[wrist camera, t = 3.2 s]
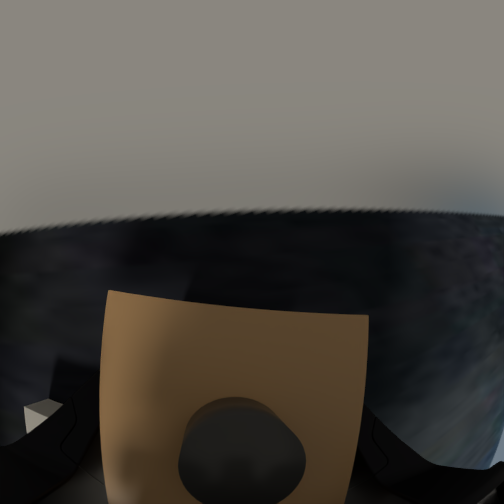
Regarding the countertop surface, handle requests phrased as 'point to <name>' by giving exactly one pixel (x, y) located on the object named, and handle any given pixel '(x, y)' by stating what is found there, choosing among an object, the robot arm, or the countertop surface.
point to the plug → (228, 403)
